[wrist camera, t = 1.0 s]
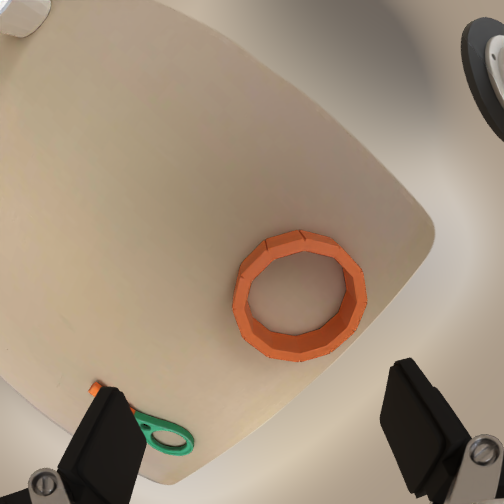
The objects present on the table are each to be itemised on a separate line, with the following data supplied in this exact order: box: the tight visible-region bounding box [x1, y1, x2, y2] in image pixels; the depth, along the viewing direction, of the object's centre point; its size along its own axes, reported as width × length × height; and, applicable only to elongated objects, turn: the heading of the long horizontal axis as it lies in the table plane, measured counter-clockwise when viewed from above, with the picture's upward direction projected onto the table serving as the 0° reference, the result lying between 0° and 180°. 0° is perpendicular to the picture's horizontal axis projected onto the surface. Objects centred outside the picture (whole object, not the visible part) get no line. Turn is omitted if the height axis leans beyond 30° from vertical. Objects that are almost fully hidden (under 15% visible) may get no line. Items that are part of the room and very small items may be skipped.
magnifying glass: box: [88, 382, 194, 456], centre depth 31 cm, size 15×6×2 cm, turn 44°
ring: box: [232, 230, 367, 362], centre depth 25 cm, size 11×11×3 cm
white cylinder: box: [0, 0, 51, 37], centre depth 14 cm, size 7×7×7 cm
